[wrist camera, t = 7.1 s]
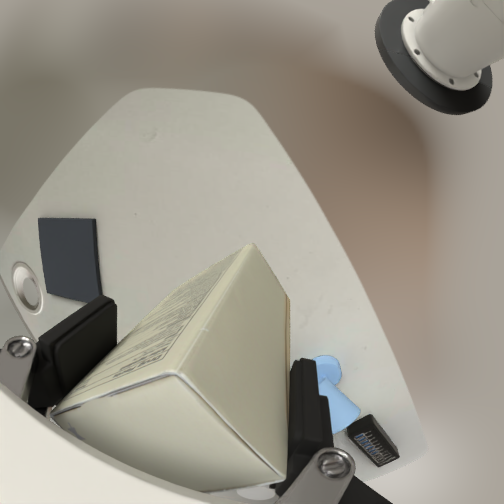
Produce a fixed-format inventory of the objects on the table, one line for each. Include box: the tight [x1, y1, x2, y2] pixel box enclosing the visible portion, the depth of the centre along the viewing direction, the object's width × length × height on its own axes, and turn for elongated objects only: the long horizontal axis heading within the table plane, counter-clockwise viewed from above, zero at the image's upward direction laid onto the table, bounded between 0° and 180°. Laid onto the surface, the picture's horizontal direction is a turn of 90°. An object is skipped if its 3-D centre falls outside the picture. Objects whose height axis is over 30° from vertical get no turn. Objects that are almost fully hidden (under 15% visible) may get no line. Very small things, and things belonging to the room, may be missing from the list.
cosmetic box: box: [49, 243, 290, 494], centre depth 11 cm, size 6×4×12 cm
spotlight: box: [312, 355, 360, 434], centre depth 29 cm, size 5×10×7 cm
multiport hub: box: [347, 414, 400, 467], centre depth 35 cm, size 4×14×2 cm, turn 37°
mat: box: [38, 218, 102, 303], centre depth 34 cm, size 12×12×1 cm
